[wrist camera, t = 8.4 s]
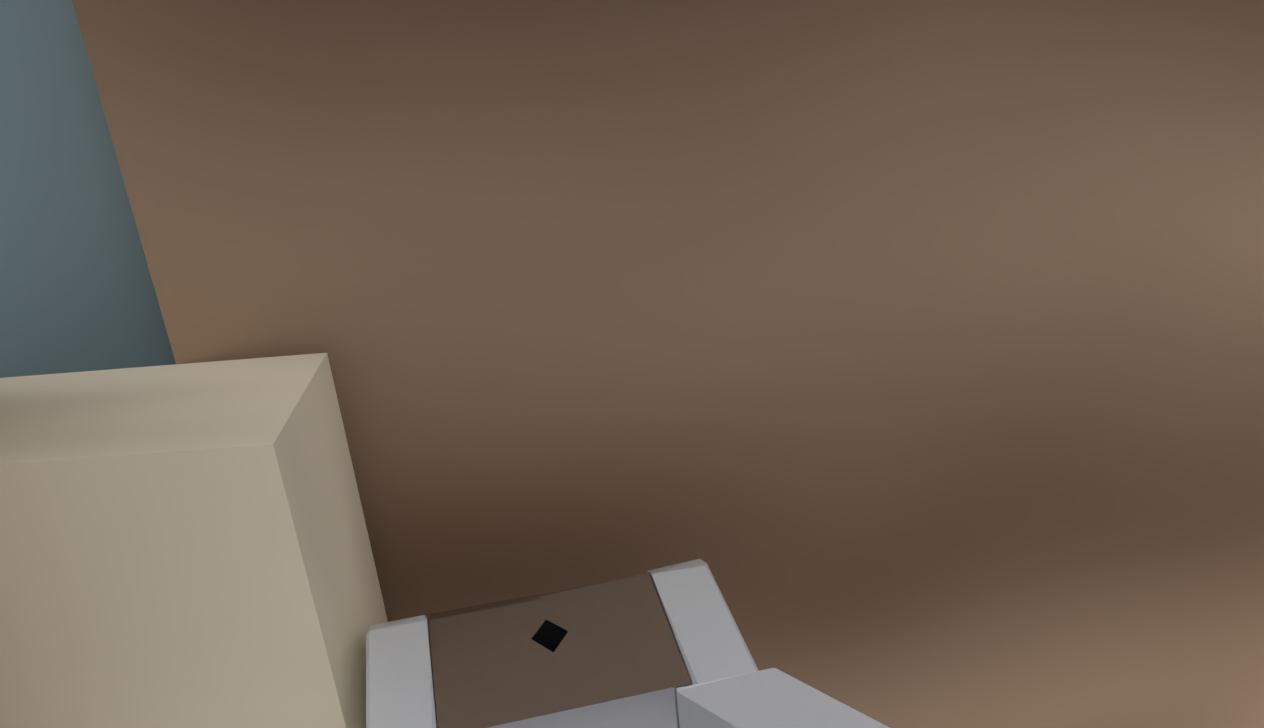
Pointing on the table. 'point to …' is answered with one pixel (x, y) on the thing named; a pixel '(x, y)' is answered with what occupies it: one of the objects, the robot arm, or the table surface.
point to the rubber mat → (65, 211)
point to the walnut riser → (759, 314)
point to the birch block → (182, 549)
